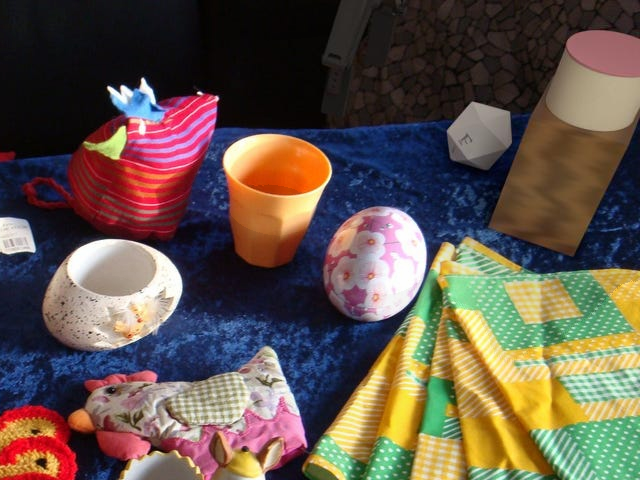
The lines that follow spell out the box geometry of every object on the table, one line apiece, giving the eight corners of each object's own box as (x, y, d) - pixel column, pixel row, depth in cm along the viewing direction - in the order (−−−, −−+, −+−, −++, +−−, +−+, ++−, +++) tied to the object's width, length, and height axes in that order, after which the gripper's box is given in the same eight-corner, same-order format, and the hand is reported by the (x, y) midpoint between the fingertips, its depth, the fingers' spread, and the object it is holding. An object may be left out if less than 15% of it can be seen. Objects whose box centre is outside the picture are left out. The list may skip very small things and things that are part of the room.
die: (433, 145, 125) (435, 117, 115) (487, 110, 123) (493, 79, 114) (466, 189, 122) (470, 165, 113) (521, 155, 121) (530, 127, 111)
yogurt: (642, 100, 100) (669, 44, 95) (625, 141, 94) (654, 84, 89) (555, 77, 104) (577, 22, 99) (534, 115, 98) (556, 58, 93)
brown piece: (590, 213, 113) (646, 100, 100) (571, 259, 107) (628, 144, 94) (509, 187, 117) (553, 75, 104) (486, 230, 110) (530, 116, 98)
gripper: (400, -141, 95) (363, 38, 111) (309, -66, 80) (282, 127, 96) (464, -128, 92) (418, 53, 108) (383, -49, 78) (343, 147, 94)
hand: (354, 88), depth 102 cm, fingers open, 13 cm apart
